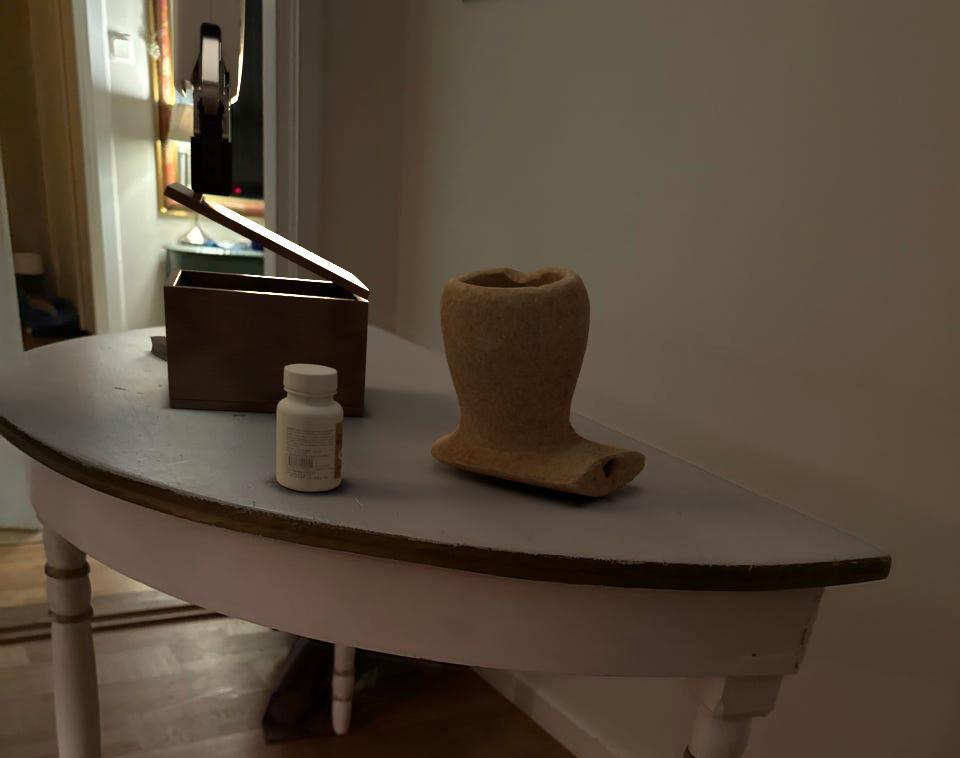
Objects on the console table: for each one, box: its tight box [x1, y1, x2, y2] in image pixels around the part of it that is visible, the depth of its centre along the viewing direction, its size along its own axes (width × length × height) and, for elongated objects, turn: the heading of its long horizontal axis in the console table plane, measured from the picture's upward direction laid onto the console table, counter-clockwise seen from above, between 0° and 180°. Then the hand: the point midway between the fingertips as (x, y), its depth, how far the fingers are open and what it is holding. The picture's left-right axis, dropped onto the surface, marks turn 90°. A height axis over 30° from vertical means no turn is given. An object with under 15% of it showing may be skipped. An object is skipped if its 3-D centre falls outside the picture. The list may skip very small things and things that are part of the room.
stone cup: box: [430, 266, 646, 498], centre depth 65 cm, size 15×12×15 cm
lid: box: [163, 181, 371, 301], centre depth 79 cm, size 17×14×5 cm
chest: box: [162, 268, 370, 417], centre depth 83 cm, size 17×14×10 cm
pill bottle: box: [275, 364, 344, 493], centre depth 61 cm, size 4×4×8 cm
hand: (212, 191), depth 77 cm, fingers closed on lid, 5 cm apart
